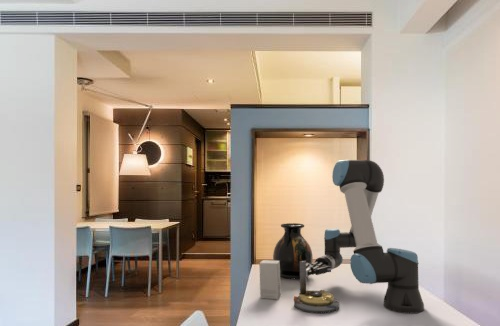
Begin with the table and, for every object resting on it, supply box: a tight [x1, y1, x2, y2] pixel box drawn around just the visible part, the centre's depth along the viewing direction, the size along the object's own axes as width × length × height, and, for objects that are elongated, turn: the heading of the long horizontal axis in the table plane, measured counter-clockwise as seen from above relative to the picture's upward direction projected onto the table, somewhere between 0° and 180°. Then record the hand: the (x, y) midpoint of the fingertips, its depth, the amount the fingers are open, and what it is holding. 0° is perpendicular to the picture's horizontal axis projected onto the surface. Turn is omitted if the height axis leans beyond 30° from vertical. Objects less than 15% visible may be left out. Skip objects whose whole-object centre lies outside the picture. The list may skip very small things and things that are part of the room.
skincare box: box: [259, 259, 281, 300], centre depth 165 cm, size 8×7×16 cm
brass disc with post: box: [298, 261, 334, 306], centre depth 153 cm, size 14×14×15 cm
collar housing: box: [293, 290, 340, 315], centre depth 153 cm, size 18×18×5 cm
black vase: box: [272, 222, 314, 280], centre depth 203 cm, size 22×22×28 cm
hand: (302, 274), depth 159 cm, fingers closed
